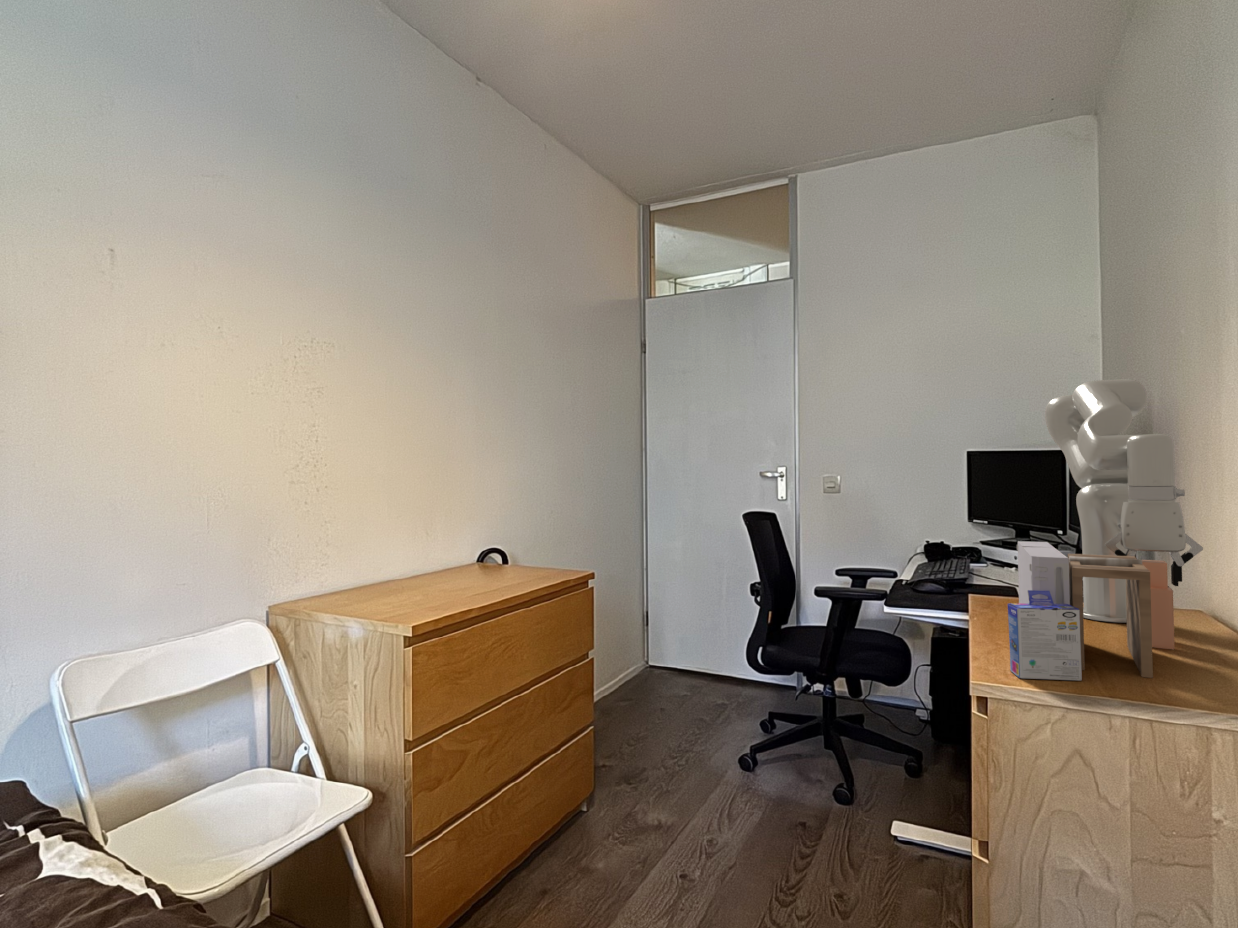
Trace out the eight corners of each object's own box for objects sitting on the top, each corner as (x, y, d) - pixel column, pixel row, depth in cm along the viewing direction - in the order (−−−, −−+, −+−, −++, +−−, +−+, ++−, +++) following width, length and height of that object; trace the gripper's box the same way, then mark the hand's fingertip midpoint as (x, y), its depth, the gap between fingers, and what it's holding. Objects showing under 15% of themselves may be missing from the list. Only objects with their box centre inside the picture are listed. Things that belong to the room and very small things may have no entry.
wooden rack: (1069, 640, 138) (1067, 549, 138) (1136, 647, 132) (1134, 552, 132) (1074, 668, 119) (1071, 563, 119) (1152, 677, 113) (1150, 567, 113)
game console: (1033, 666, 121) (1030, 556, 121) (1018, 632, 145) (1016, 541, 146) (1071, 670, 118) (1068, 557, 119) (1049, 634, 143) (1047, 542, 143)
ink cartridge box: (1069, 672, 117) (1067, 589, 117) (1084, 682, 112) (1082, 595, 112) (1007, 669, 119) (1005, 588, 119) (1019, 679, 114) (1017, 594, 114)
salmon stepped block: (1136, 636, 140) (1134, 558, 140) (1167, 639, 137) (1165, 559, 137) (1142, 646, 133) (1140, 563, 133) (1174, 649, 130) (1172, 564, 130)
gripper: (1203, 494, 134) (1205, 584, 134) (1097, 494, 143) (1099, 578, 143) (1211, 496, 127) (1213, 590, 127) (1100, 495, 137) (1102, 583, 137)
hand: (1153, 583), depth 135 cm, fingers open, 6 cm apart
